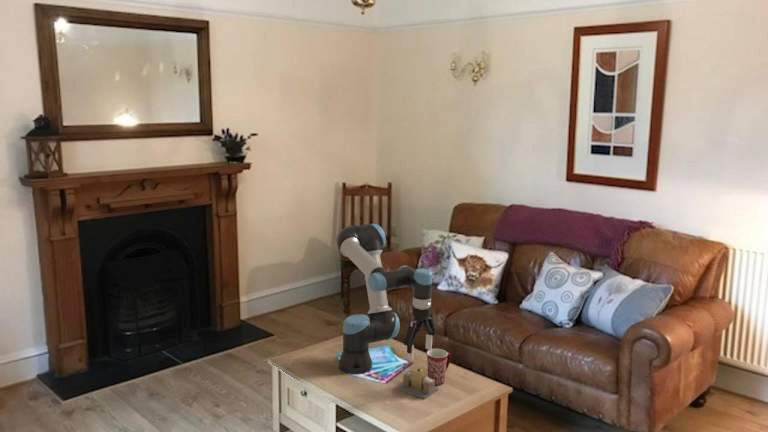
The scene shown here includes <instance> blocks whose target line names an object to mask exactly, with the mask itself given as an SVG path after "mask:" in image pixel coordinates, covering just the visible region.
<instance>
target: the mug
mask: <svg viewBox="0 0 768 432" xmlns="http://www.w3.org/2000/svg"><path fill="white" fill-rule="evenodd" d="M426 356H427V359H426V360H427V361H426V363H427V370H428V373H427V377H429V378H432V379H434V380H435V386H442V385H444V384H445V381H446V374H447V373H446V372H447V370H448V368H449V366H450V363H451V359H452V357H451V353H450V352H447V351H446V350H444V349H441V348H432V350H429V349H427V351H426Z"/></svg>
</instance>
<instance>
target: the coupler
mask: <svg viewBox="0 0 768 432" xmlns="http://www.w3.org/2000/svg"><path fill="white" fill-rule="evenodd" d="M411 371H412V377H411V388H412V389H415V390H418V391H420V392H421V391H423V390H424V386H423V380H424V378H425V377H428V369H425V368H421V367H419V366H417V367H415V368H414V369H412V370H411Z"/></svg>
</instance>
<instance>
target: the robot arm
mask: <svg viewBox="0 0 768 432" xmlns="http://www.w3.org/2000/svg"><path fill="white" fill-rule="evenodd" d="M386 241H387V240H386V234H385V230H384V229H383V228H382V227H381V226H380V225H379V224H376V223H367V224H360V225H359V224H358V225H349V226H346V227H344V228H343V229H341V230H340V231H339V233H338V234H337V236H336V241H335V242H336V248H337V249H338V252H339V253H340V254H341V255H342V256H343V257H347V258H348V259H349V260H350V261H351V262H352V263H353V264H354V265H355V266H356V267H357V268H358V269H359V270H360V271H361V272H362V273H363V274H364V280H365V286H366V290H367V298H368V304H369V310H368V312H367V314H363V313H360V314H359V313H355V314H352V315H349V316H347V317H346V318H345V319H344V321H343V324H342V325H343V326H342V352H341V355H340V358H339V360H338V368H339V369H340V370H341V371H342V372H345V373H349V374H364V373H366V372H367V373H368V372H369V371H371V370H372V368H373V360H372V358H371V355H370V352H369V348H370V347H369V344H372V343H377V342H382V341H388V340H391V339H393V338H396V337H397V335H398V334H399V331H400V327H401V326H400V325H401V324H400V318H399V316H398V314H397V313H396V312H393V308H392V307H391V306H389V302H388V295H387V291H389V290H393V289H401V288H407V287H408V288H411V289H412V293H413V294H412V313H411V314H412V316H413V317H414V319H413V321H412V320H409V323H408V329H407V332H406V334H405V338H404V341H403V345H404V346H406V360H408V361H411V362H413V361H414V353H415V352H414V350H415V345H414V343H415V341H416V338H417V336H418V334H419V333H420V332H421V330H422V329H424V330H425V332H426V334H425V349H426V350H432V349H433V347H432V346H433V336H435V335H436V332H437V329H436V325H435V322H434V321H435V320H434V319H433V318H434V314H433V313H431V312H432V311H431V310H432V308H431V307H432V293H433V291H432V290H433V281H434V280H433V279H434V278H433V272H432V271H431V270H430V269H428V268H427V269H426V268H417V269H415V268H413V267H411V266H408V265H402V266H400V267H398V268H397V269H394V270H386V269H385V268H384V267H383V265H382V260H381V254H382V252H383V248H384V247H385V246H386Z"/></svg>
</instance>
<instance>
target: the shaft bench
mask: <svg viewBox="0 0 768 432" xmlns="http://www.w3.org/2000/svg"><path fill="white" fill-rule="evenodd" d="M411 377H412V370H408V371H405V373H403V377H402V378H403V382H402V385H401V386H399V388H398V389H399V390H400V391H402V392H404V393H408V394H410V395H412V396H415V397H418V398H420V399H423V400H426V399H428V398H429V397H430V396H432V395H434V394H435V393H436V392H437V391H439V388H438V387H436V385H435V380H434V379H432V378H429V377H428V376H427V377H425V378H424V380H423V386H424V390H423V391H421V392H420V391H418V390H415V389H412V388H411Z"/></svg>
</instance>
